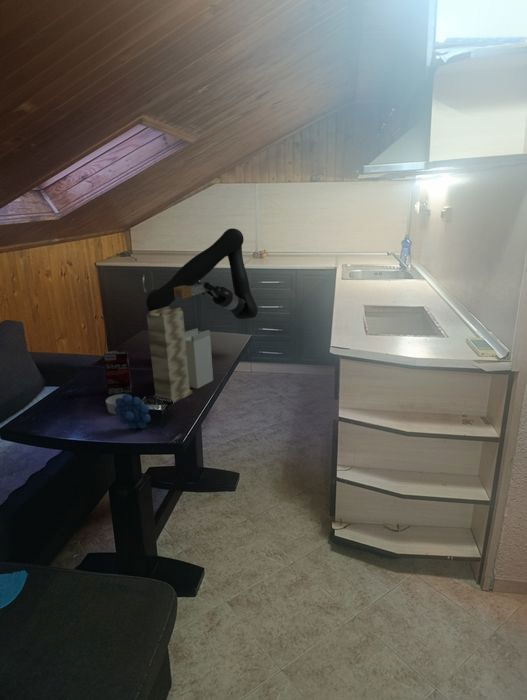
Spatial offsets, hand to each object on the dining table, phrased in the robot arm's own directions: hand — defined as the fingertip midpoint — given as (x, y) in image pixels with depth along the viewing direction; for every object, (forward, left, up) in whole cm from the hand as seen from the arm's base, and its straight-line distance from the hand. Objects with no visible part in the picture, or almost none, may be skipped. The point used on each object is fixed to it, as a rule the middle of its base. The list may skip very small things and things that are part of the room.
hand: (201, 284), depth 181 cm
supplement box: (-32, -14, -39) cm, 52 cm away
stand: (-10, -19, -39) cm, 44 cm away
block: (-2, -4, -3) cm, 5 cm away
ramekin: (-26, -31, -39) cm, 56 cm away
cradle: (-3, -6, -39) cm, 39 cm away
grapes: (-16, -46, -39) cm, 63 cm away
